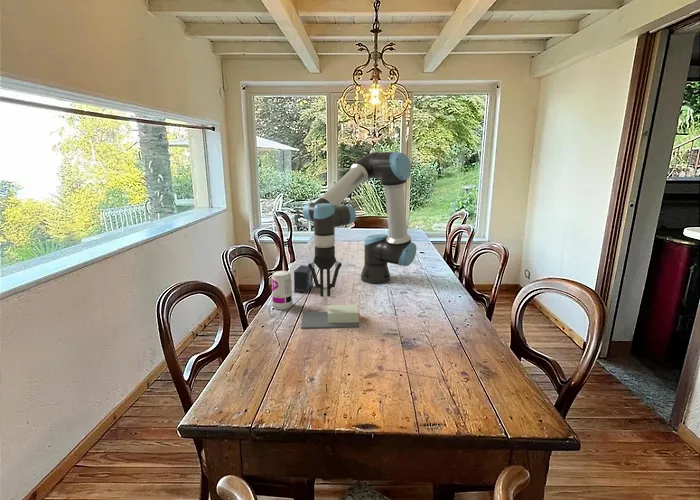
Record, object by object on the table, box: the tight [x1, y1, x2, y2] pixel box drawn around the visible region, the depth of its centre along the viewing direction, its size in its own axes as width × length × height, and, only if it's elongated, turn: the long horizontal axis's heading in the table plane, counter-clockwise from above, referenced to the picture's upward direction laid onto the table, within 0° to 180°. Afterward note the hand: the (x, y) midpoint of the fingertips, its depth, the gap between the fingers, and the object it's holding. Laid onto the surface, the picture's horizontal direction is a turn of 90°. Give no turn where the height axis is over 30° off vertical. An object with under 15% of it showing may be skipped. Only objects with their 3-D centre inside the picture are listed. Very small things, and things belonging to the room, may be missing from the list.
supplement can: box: [271, 270, 293, 311], centre depth 170 cm, size 8×8×15 cm
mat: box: [300, 311, 360, 330], centre depth 158 cm, size 22×14×1 cm, turn 94°
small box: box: [293, 264, 314, 294], centre depth 191 cm, size 11×6×10 cm, turn 168°
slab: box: [327, 304, 360, 323], centre depth 158 cm, size 4×8×12 cm
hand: (325, 304), depth 156 cm, fingers closed
